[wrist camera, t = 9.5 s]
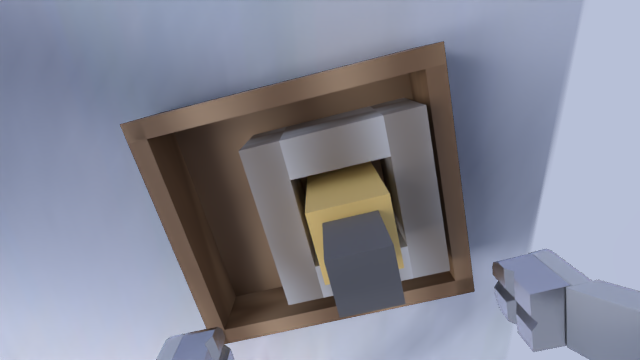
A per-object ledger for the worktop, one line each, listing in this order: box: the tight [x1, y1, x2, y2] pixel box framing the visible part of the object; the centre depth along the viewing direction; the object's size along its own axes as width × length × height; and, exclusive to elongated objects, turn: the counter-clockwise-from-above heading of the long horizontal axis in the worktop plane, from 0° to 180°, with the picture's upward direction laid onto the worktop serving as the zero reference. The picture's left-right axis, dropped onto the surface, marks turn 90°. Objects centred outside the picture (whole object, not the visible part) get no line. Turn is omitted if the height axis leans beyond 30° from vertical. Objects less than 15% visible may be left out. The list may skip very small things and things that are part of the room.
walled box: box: [120, 41, 475, 344], centre depth 20 cm, size 16×14×5 cm
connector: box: [305, 161, 406, 318], centre depth 17 cm, size 4×4×10 cm
